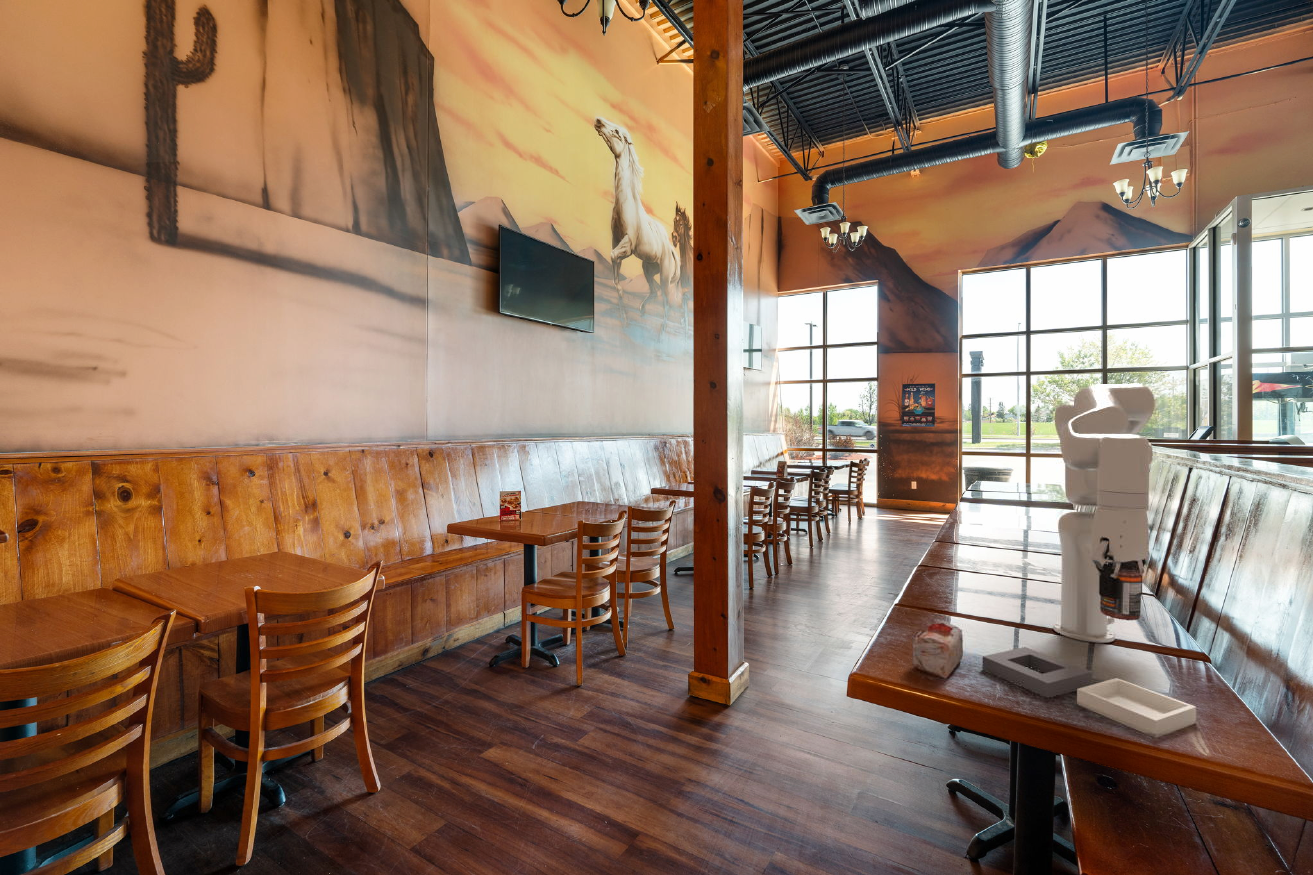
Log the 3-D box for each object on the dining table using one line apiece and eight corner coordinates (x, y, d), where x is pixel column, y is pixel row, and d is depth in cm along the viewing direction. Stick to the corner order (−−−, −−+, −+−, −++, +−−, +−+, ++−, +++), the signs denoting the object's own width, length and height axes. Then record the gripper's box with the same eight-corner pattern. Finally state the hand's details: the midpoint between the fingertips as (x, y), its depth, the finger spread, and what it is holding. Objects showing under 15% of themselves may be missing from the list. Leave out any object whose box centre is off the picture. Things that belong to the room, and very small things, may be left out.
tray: (1116, 692, 113) (1116, 677, 113) (1196, 723, 101) (1196, 706, 101) (1076, 704, 108) (1077, 688, 108) (1155, 737, 97) (1156, 720, 96)
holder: (1024, 659, 129) (1025, 646, 129) (1092, 685, 116) (1092, 671, 116) (982, 669, 123) (982, 656, 123) (1048, 698, 111) (1048, 683, 110)
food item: (950, 683, 117) (950, 636, 117) (910, 672, 122) (910, 627, 122) (965, 662, 128) (966, 619, 127) (927, 653, 133) (928, 611, 133)
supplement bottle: (1091, 611, 109) (1093, 553, 109) (1120, 610, 110) (1121, 553, 110) (1118, 621, 103) (1120, 560, 103) (1149, 621, 104) (1150, 560, 104)
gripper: (1127, 496, 113) (1125, 585, 113) (1071, 500, 107) (1069, 594, 107) (1173, 501, 106) (1171, 596, 106) (1116, 505, 100) (1114, 606, 100)
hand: (1120, 594), depth 107 cm, fingers closed on supplement bottle, 6 cm apart
